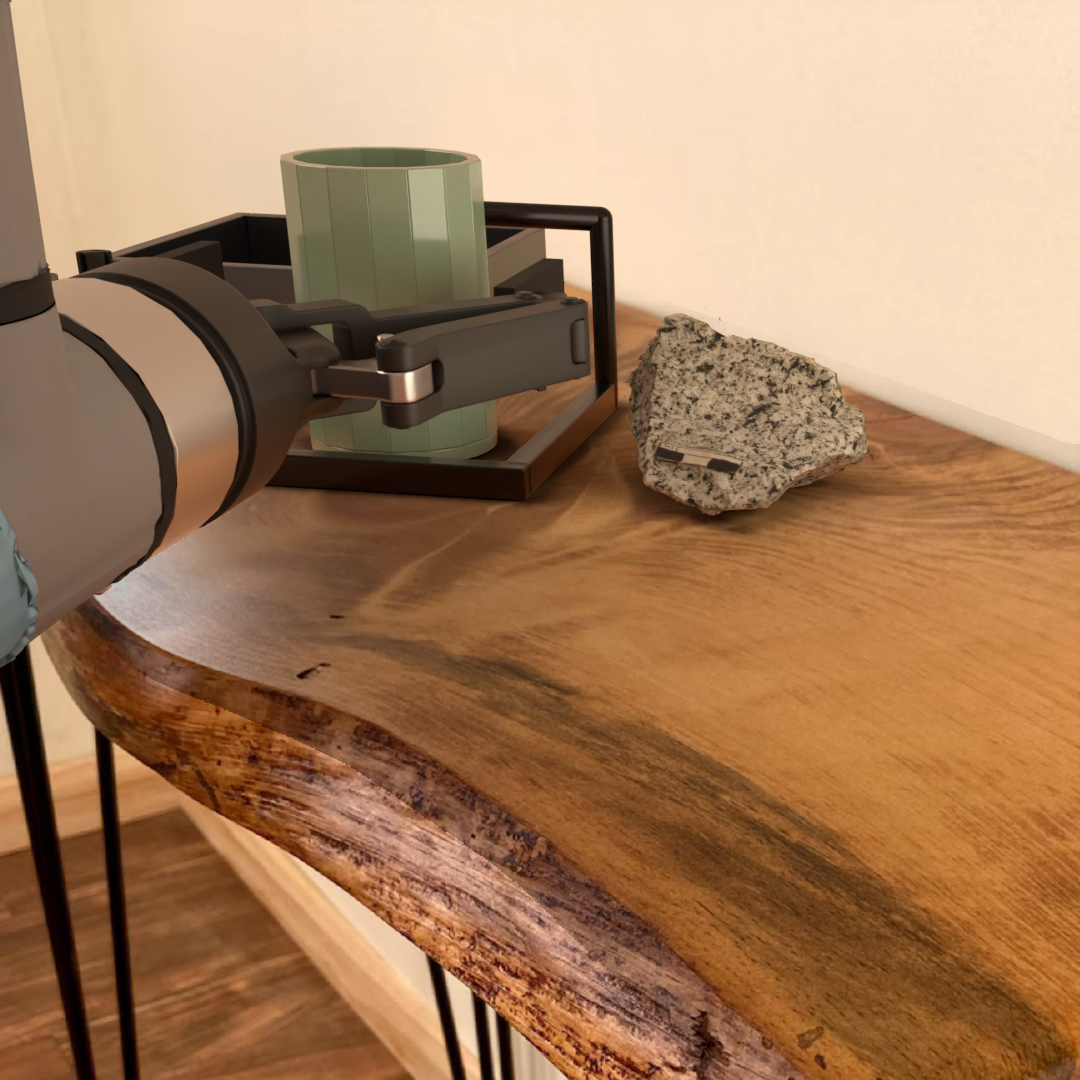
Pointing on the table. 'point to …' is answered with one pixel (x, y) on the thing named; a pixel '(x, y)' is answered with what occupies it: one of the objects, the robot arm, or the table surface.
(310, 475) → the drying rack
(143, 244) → the black shallow open box
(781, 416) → the rock sample
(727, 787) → the table surface
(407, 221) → the cup
